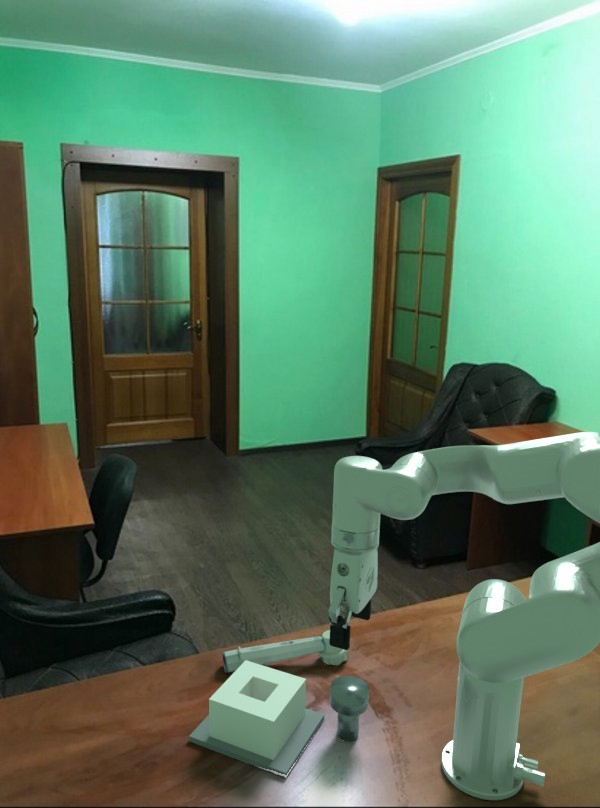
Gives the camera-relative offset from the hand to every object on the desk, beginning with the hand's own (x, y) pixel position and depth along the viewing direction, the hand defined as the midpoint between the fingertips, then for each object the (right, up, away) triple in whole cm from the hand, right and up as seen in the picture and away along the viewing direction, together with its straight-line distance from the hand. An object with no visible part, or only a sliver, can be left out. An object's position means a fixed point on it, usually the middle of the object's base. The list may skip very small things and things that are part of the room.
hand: (350, 631), depth 107 cm
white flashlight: (-11, -15, +23) cm, 30 cm away
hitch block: (-15, -18, +5) cm, 24 cm away
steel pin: (0, -19, +4) cm, 19 cm away
